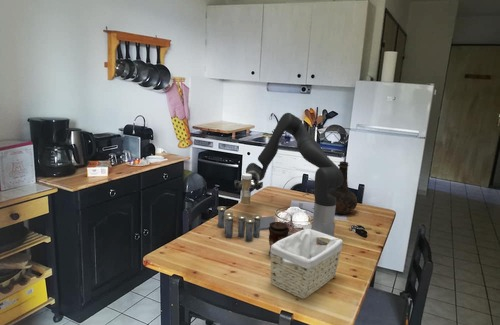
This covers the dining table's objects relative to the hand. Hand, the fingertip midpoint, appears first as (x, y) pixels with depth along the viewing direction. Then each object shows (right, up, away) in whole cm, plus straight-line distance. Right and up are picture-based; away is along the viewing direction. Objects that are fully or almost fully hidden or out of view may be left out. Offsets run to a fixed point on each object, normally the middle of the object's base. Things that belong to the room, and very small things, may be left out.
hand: (245, 189), depth 164 cm
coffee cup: (+13, -25, -16) cm, 33 cm away
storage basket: (+21, -30, -34) cm, 50 cm away
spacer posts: (-3, -20, +3) cm, 21 cm away
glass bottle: (+51, -15, +39) cm, 66 cm away
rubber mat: (+10, -18, +16) cm, 26 cm away
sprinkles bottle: (0, -7, +4) cm, 8 cm away
